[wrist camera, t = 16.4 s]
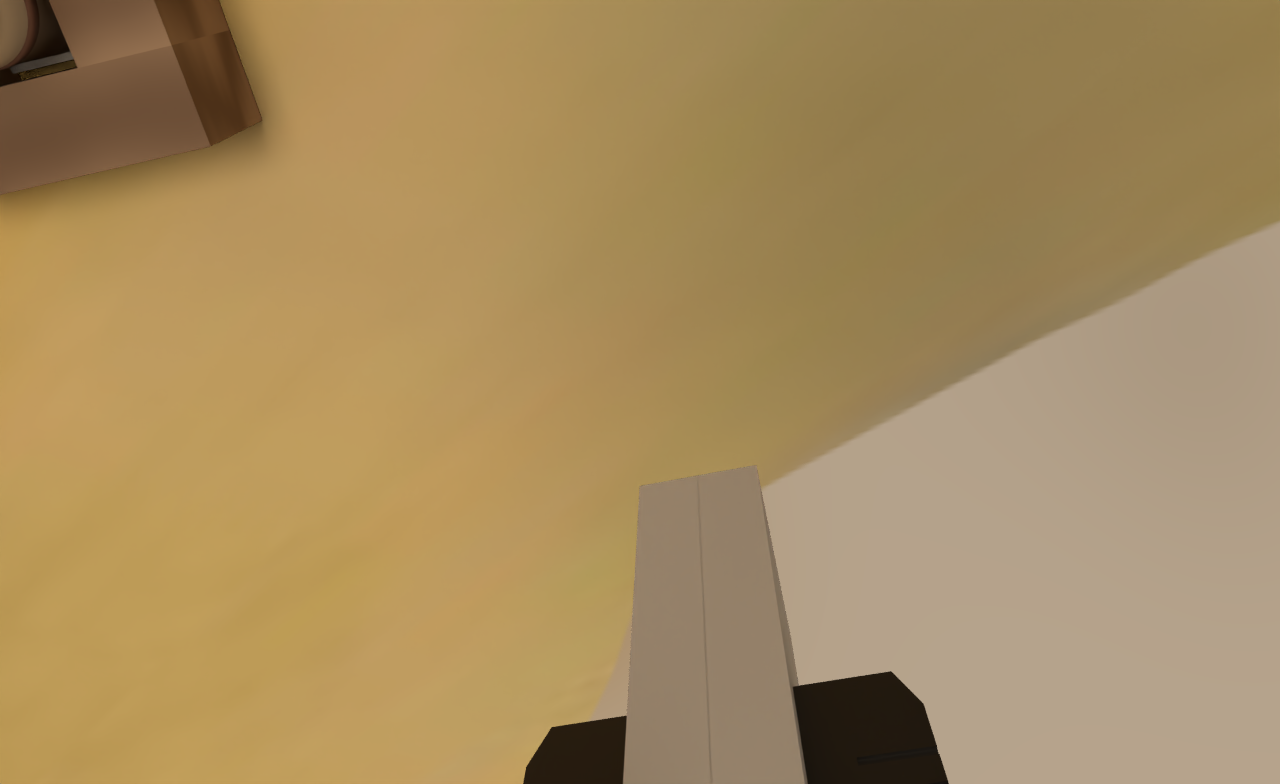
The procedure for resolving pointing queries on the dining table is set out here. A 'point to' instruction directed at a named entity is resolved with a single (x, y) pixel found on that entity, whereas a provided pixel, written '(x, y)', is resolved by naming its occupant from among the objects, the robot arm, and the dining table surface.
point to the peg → (28, 32)
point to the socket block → (124, 91)
